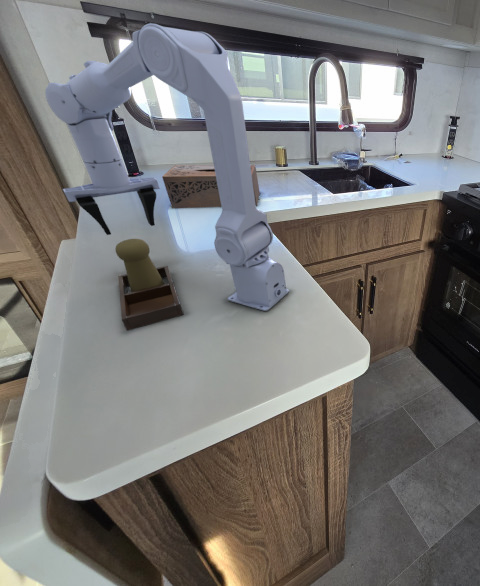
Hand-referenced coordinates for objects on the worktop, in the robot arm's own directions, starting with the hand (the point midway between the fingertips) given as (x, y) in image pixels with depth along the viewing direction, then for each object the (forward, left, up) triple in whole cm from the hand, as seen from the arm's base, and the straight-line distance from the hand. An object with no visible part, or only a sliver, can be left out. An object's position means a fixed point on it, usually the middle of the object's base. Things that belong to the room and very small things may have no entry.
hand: (130, 228), depth 69 cm
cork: (-7, +5, -10) cm, 14 cm away
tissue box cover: (+21, -45, -10) cm, 51 cm away
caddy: (-10, +8, -10) cm, 16 cm away
